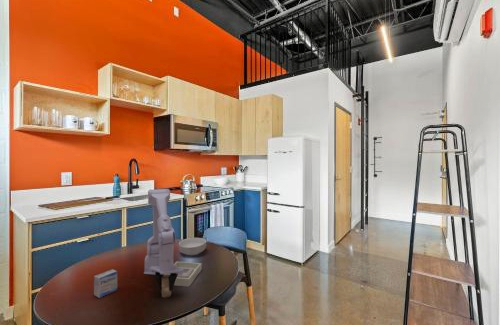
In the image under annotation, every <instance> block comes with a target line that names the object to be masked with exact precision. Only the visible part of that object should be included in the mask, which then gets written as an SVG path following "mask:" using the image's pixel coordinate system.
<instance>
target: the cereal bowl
mask: <svg viewBox="0 0 500 325" xmlns="http://www.w3.org/2000/svg"><path fill="white" fill-rule="evenodd" d="M206 248H207V240H206V239H205V238H202V237H189V238H185V239H182V240H180V241H179V243H178V249H179V251H180V253H182V254H184V255H186V256H193V257H194V256H197V255H199V254H200V253H203V252H204V251H205V249H206Z"/></svg>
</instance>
